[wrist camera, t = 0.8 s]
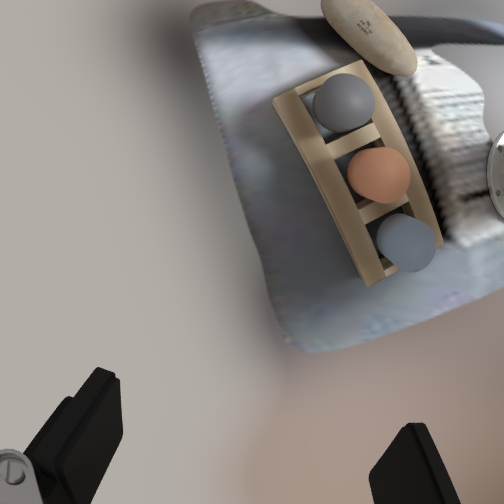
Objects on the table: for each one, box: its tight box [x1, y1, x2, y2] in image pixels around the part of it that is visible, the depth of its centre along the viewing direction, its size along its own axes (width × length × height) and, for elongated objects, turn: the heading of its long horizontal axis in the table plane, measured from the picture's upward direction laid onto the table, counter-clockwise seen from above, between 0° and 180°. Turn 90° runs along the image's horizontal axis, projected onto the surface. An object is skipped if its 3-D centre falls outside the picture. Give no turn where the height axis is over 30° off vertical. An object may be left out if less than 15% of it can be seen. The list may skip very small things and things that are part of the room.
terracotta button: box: [347, 147, 410, 203], centre depth 27 cm, size 5×5×4 cm
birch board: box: [272, 60, 444, 287], centre depth 30 cm, size 10×21×3 cm, turn 29°
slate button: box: [377, 213, 436, 272], centre depth 28 cm, size 5×5×4 cm
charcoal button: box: [312, 73, 375, 132], centre depth 25 cm, size 5×5×4 cm
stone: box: [321, 0, 417, 76], centre depth 25 cm, size 6×6×12 cm
